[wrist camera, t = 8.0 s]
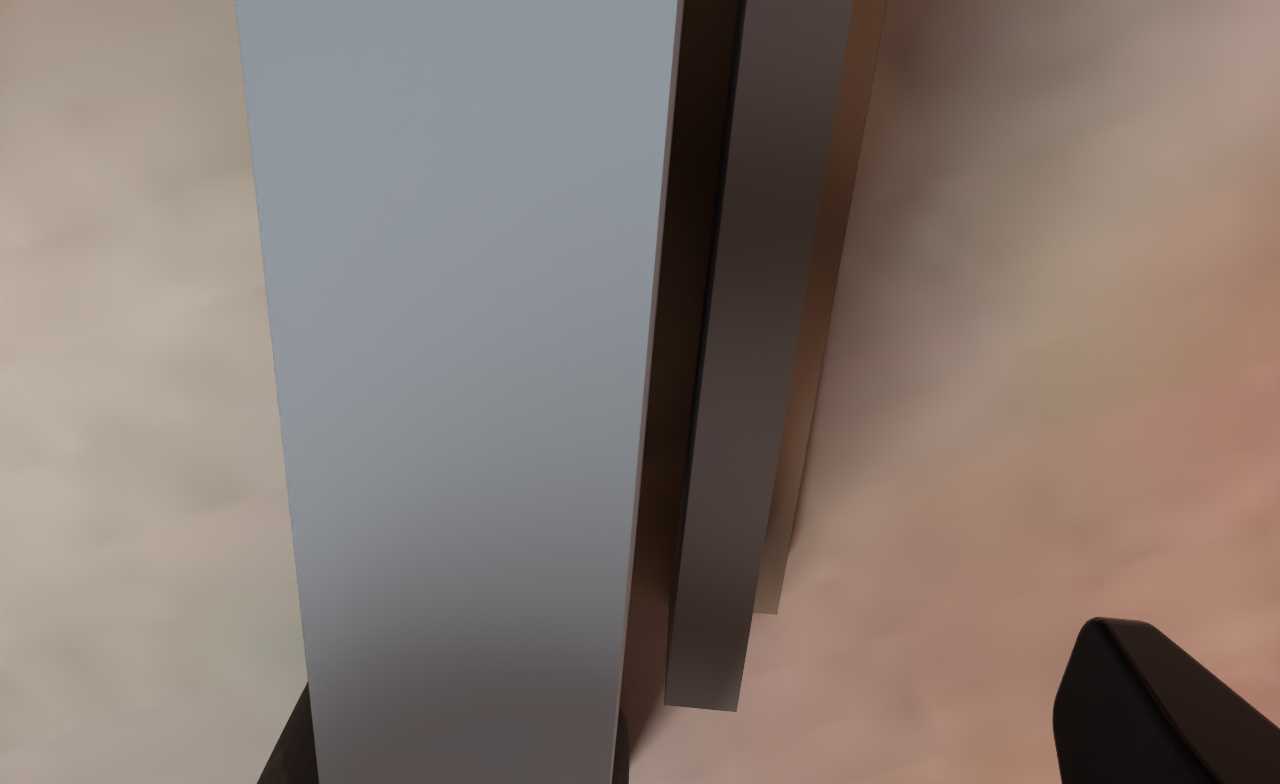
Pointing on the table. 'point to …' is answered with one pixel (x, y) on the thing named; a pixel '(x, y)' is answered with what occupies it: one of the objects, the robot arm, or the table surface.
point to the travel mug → (294, 760)
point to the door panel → (462, 364)
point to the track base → (744, 313)
